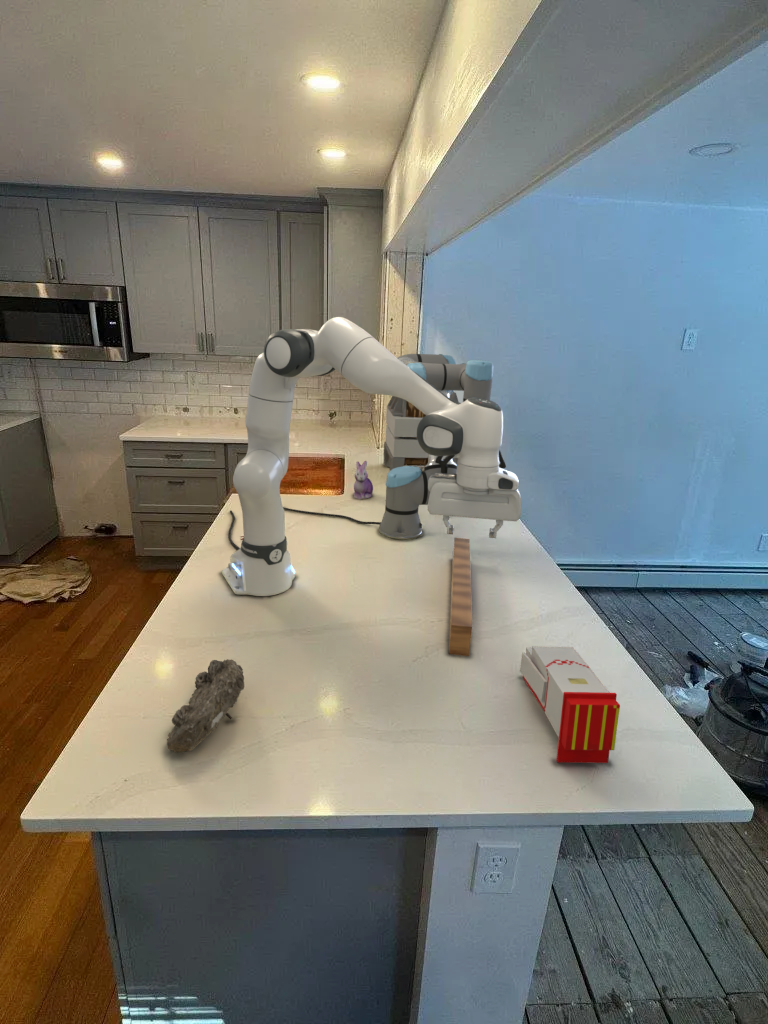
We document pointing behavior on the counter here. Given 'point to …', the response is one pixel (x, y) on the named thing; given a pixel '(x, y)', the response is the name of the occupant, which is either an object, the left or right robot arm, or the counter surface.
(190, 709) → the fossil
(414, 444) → the transformer
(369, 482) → the figurine
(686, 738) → the counter surface
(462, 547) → the beam
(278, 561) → the left robot arm
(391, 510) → the right robot arm
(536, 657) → the toy
